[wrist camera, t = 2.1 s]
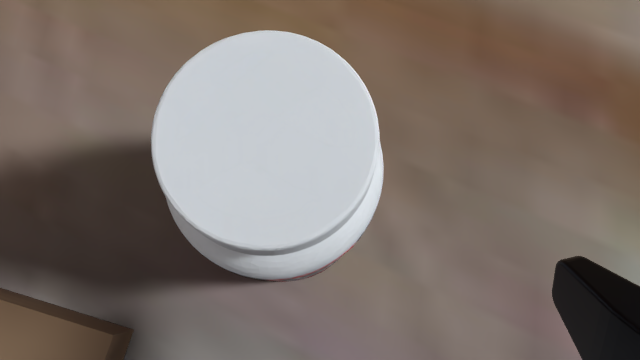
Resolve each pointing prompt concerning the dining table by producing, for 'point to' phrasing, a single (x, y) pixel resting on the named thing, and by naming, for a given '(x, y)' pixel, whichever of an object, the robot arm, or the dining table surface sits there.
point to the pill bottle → (268, 154)
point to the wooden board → (55, 332)
